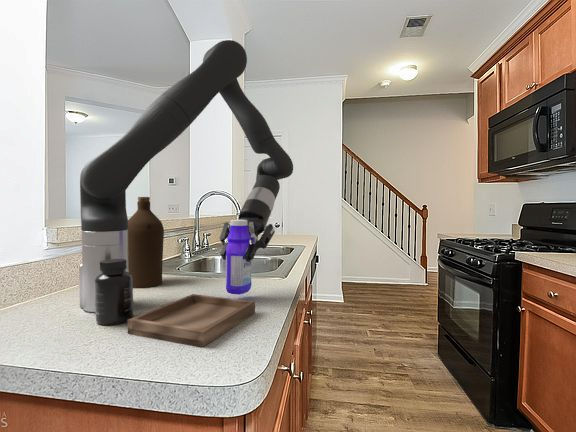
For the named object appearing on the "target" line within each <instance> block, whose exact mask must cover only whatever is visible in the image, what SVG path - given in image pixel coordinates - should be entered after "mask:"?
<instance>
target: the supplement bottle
mask: <svg viewBox="0 0 576 432" xmlns="http://www.w3.org/2000/svg"><path fill="white" fill-rule="evenodd" d="M126 269H127V262H126V259H109V260H103V261H100V269H99V270H100V271H101V274H100V275H98V276H97V277H96V279H95V281H94V286H95V312H94V313H95V322H96V323H97V324H98V325H100V326H115V325H120V324H124V323H128V319H131V318H133V317H134V315H135V314H134V288H133V279H132V275H131V274H130V273H128V272H126Z"/></svg>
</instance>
